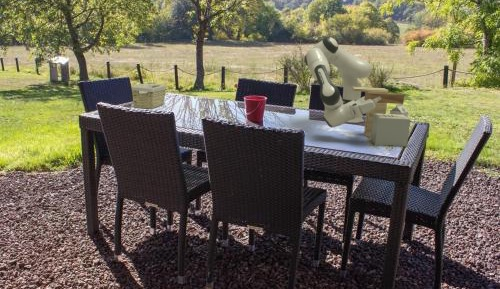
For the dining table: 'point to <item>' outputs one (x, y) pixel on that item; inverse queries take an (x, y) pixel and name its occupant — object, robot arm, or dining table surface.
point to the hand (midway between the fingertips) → (379, 96)
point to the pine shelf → (378, 109)
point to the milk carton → (399, 110)
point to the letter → (391, 116)
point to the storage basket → (148, 95)
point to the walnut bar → (385, 97)
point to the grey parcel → (390, 131)
